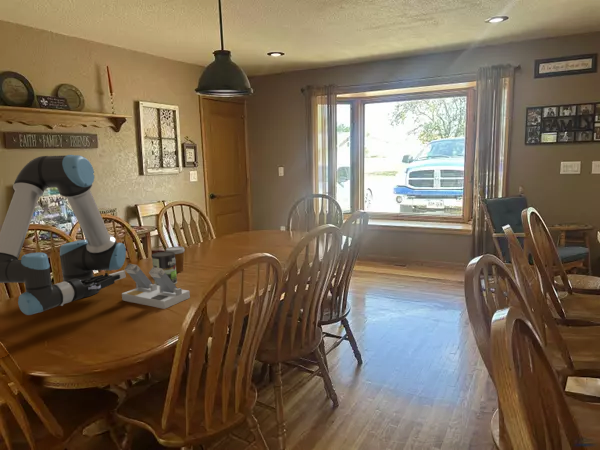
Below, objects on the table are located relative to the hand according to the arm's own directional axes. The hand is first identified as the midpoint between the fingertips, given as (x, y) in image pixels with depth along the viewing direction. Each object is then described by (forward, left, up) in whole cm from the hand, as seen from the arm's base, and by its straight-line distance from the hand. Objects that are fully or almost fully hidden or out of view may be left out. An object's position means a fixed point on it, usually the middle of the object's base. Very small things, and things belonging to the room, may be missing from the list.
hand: (124, 273), depth 173 cm
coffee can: (-19, +20, -13) cm, 30 cm away
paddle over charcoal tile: (+6, +16, -8) cm, 19 cm away
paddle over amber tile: (-6, +9, -8) cm, 13 cm away
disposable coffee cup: (-37, +30, -13) cm, 49 cm away
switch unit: (+1, +11, -13) cm, 17 cm away
